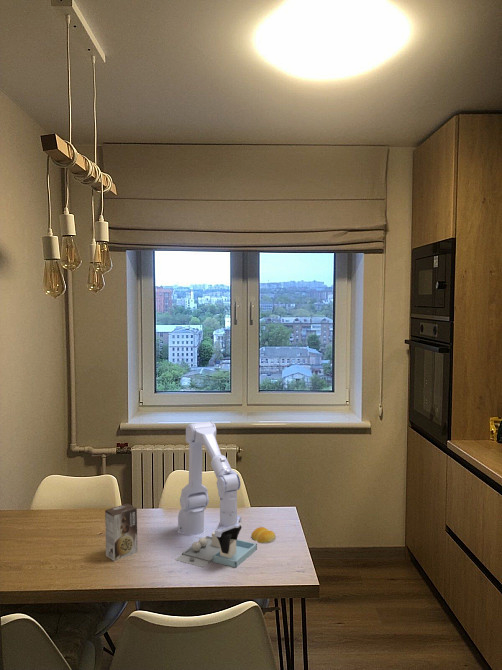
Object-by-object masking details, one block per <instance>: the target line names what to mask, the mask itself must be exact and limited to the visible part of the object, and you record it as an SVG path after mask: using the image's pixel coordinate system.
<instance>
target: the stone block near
mask: <svg viewBox="0 0 502 670" xmlns="http://www.w3.org/2000/svg"><path fill="white" fill-rule="evenodd" d="M235 554H236V540H234V539H230V544H229V552H228V554H226V553H222V550H221V546H220V556H224V557H228V558H231V557H232V556H233V555H235Z"/></svg>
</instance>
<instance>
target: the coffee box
mask: <svg viewBox="0 0 502 670" xmlns="http://www.w3.org/2000/svg"><path fill="white" fill-rule="evenodd" d="M104 511H105V515H104V516H105V517H104V518H105V557H107V558H109V559H110V560H112V561H113V562H117V561H118V560H121V559H123V558H125V557H128V556H131V555H134V554H136V553H139V552H138V551H139V550H138V547H139V546H138V512H137V511H138V509H137V507H135V506H133V505H131V504H129V503H125V504H121V505H119V506H115V507H112V508H111V507H110V508H108V509H105V510H104Z"/></svg>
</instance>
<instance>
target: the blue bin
mask: <svg viewBox="0 0 502 670" xmlns="http://www.w3.org/2000/svg"><path fill="white" fill-rule="evenodd" d="M257 550H258V544H257V543H255V542H250V541H246V540H241V539H238V538H237V541H236V554H235V555H233V556H232V557H231V558H228V557H224V556H220V550H219V551H218V552H217V553H215V554H214V555H213V556H212V563H217V564H221V565H223V566H226V567H230V568H231V567H232V568H235V569H237V567H238V566H240V565H241V564H242V563H243V562H244V561H246V560H247V559H249V557H251V556H252V555H253V554H254V553H255V552H256V551H257Z"/></svg>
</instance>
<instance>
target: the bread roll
mask: <svg viewBox="0 0 502 670" xmlns="http://www.w3.org/2000/svg"><path fill="white" fill-rule="evenodd" d="M251 538H252V540H253V541H255V542H257V543H260V544H271V543H273V542H274V541H275V540H276V534H275V531H272V530H270V529H268V528H266V527H263V526H262V527H261V526H260V527H257V528H255V529H254V530H253V531H252V533H251Z"/></svg>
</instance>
